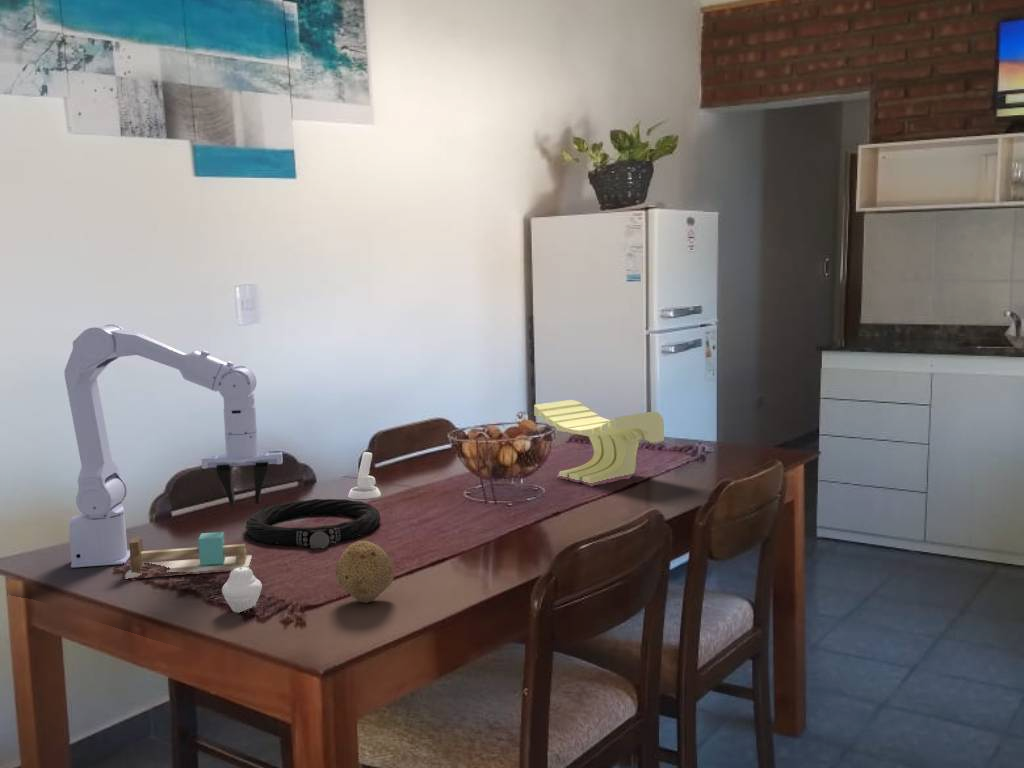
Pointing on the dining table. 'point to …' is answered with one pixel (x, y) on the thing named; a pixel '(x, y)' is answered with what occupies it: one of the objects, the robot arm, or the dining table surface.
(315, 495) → the dining table surface
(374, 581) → the natural sponge
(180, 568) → the rail
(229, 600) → the white faceted lump
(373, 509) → the cable lock
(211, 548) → the slider
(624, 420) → the slatted curved stool
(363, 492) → the white joystick
